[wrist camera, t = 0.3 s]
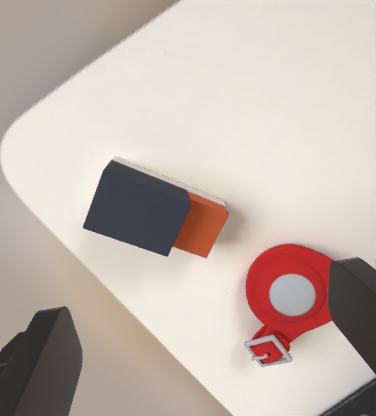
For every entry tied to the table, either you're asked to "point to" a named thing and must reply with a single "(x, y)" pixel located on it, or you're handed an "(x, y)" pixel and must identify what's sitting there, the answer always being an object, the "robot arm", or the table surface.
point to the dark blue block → (154, 211)
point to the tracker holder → (286, 299)
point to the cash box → (357, 403)
